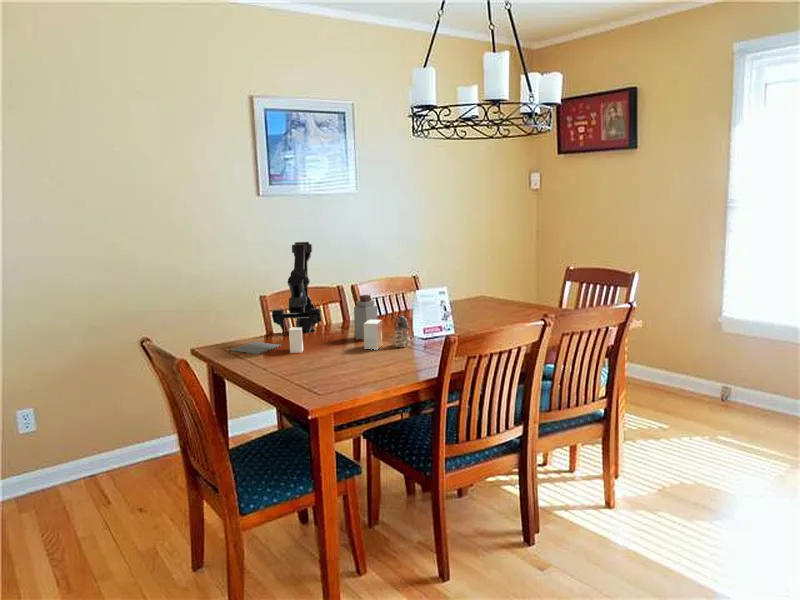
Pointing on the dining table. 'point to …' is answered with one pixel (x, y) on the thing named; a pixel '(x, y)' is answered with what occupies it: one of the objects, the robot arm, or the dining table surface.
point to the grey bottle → (363, 314)
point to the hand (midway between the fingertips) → (296, 334)
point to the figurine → (401, 332)
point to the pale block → (296, 339)
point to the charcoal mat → (255, 347)
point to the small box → (373, 334)
